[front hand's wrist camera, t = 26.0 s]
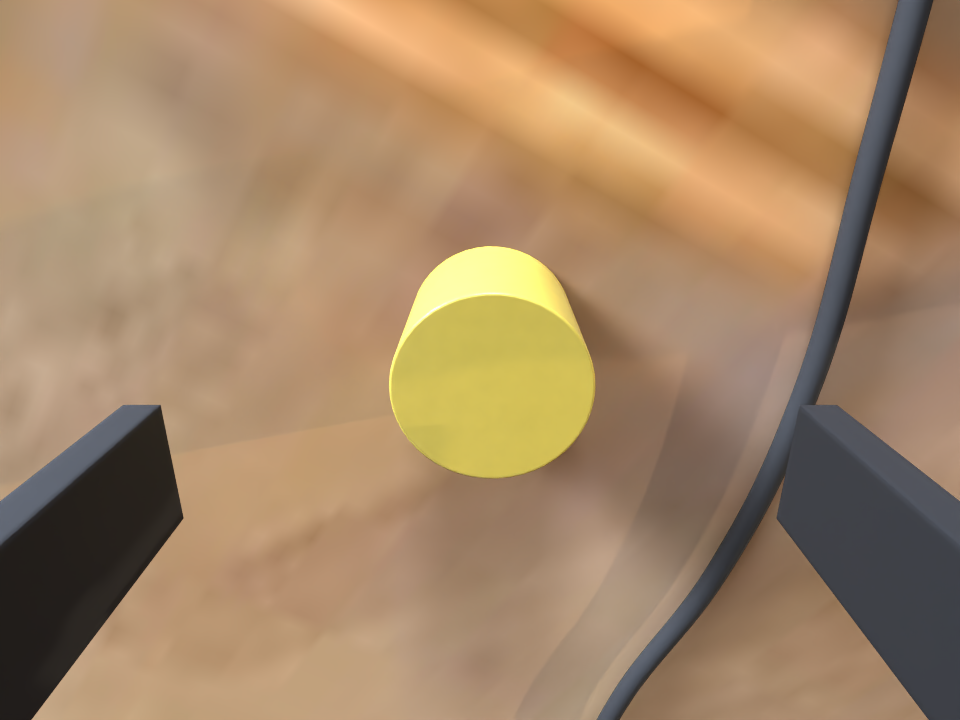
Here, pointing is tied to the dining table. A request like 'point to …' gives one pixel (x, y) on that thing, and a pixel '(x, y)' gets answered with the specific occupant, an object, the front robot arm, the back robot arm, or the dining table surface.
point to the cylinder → (492, 366)
